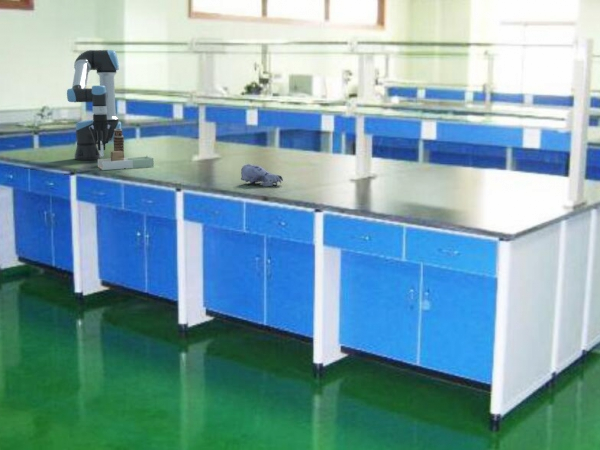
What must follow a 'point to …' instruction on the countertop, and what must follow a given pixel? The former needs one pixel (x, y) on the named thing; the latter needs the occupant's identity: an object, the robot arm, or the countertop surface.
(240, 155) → the countertop surface
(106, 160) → the lane box
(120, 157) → the walnut block
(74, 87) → the robot arm
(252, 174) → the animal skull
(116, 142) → the miniature building
